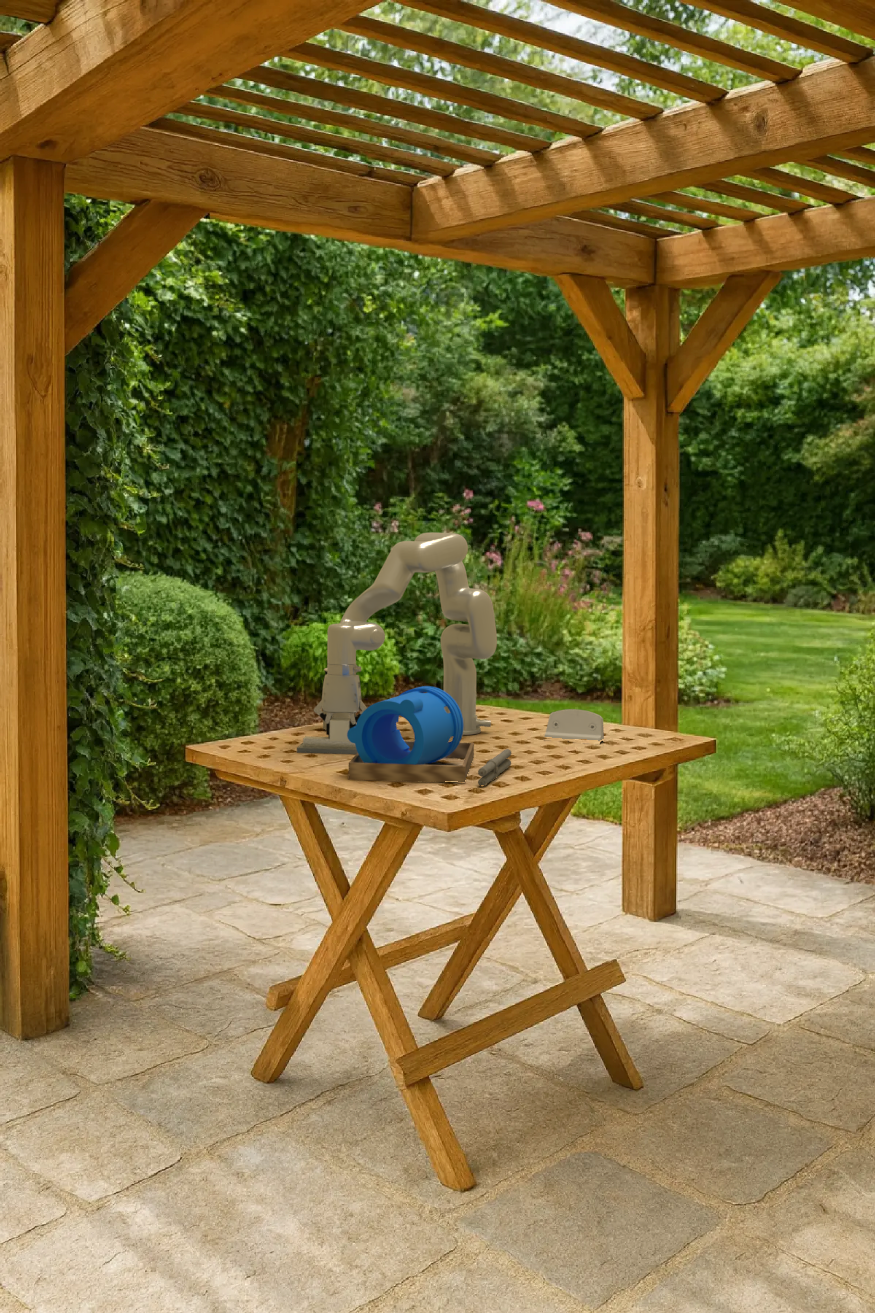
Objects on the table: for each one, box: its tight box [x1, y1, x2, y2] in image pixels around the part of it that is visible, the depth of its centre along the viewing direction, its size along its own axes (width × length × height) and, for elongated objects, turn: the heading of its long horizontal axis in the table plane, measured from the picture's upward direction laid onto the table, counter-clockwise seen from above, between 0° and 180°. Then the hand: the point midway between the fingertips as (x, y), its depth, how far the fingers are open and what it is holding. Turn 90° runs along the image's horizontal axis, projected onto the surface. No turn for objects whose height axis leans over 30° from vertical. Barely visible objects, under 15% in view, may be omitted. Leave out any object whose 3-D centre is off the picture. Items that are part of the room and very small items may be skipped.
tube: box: [347, 685, 464, 765], centre depth 298 cm, size 25×22×19 cm
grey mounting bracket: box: [543, 708, 605, 741], centre depth 342 cm, size 17×5×10 cm, turn 71°
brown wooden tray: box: [348, 740, 475, 783], centre depth 300 cm, size 28×32×4 cm
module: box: [330, 717, 351, 741], centre depth 322 cm, size 5×6×5 cm
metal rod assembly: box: [477, 748, 512, 786], centre depth 291 cm, size 26×3×5 cm, turn 163°
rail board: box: [296, 735, 358, 755], centre depth 323 cm, size 22×10×3 cm, turn 85°
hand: (341, 737), depth 322 cm, fingers closed on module, 5 cm apart
